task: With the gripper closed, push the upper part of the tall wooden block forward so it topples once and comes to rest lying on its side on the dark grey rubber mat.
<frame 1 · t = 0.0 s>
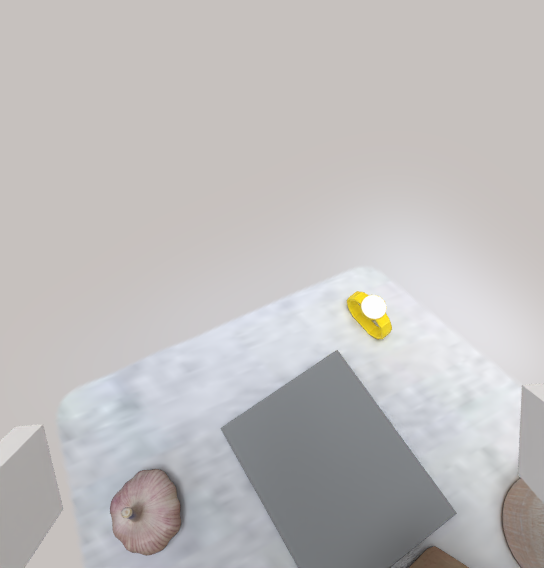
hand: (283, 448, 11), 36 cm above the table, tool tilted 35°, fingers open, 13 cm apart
garlic bulb: (155, 508, 43), on the table
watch: (364, 322, 50), on the table
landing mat: (332, 468, 43), on the table
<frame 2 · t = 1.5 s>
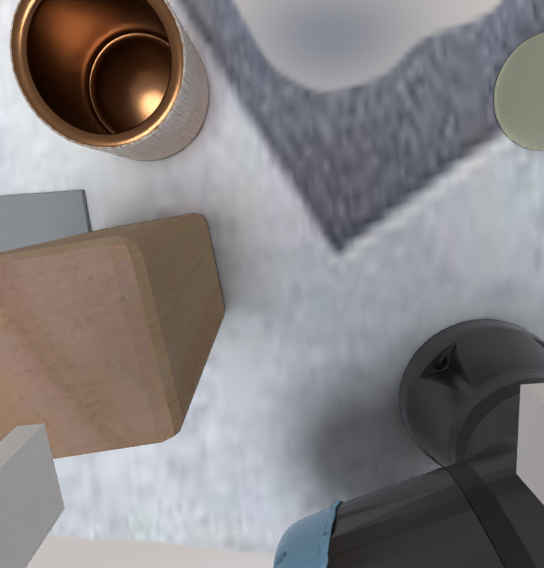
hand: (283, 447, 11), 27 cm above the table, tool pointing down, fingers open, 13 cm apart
planter: (146, 94, 34), on the table
wooden block: (164, 273, 37), on the table
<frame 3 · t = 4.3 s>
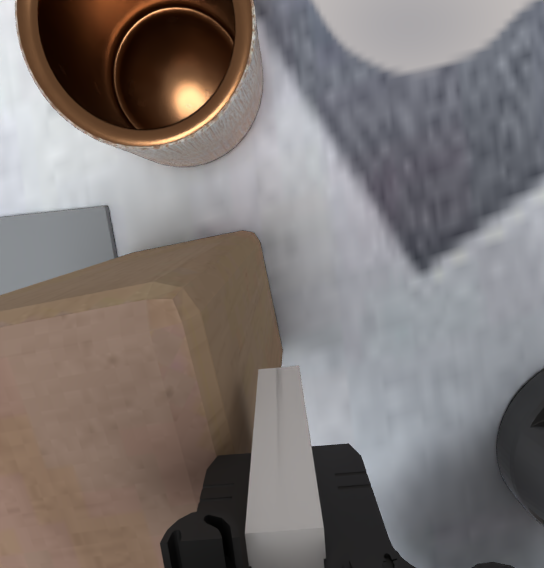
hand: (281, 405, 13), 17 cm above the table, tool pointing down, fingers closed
planter: (183, 85, 27), on the table
wooden block: (207, 305, 30), on the table, touching gripper
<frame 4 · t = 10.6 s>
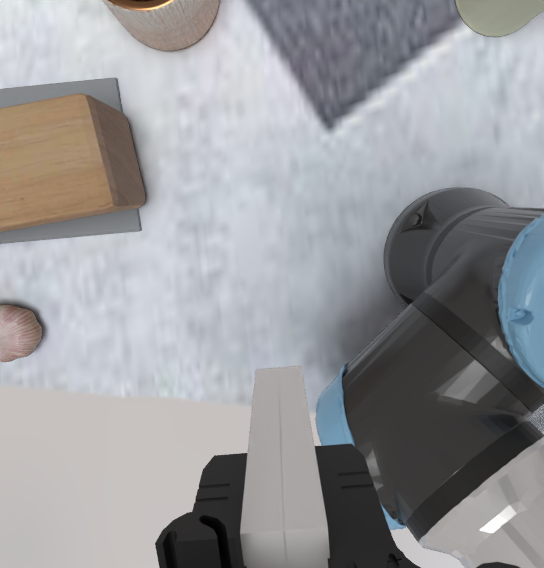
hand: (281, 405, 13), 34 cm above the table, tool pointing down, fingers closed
wooden block: (125, 155, 39), point 6 cm above the table, touching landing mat
garlic bulb: (17, 325, 49), on the table
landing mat: (40, 166, 45), on the table
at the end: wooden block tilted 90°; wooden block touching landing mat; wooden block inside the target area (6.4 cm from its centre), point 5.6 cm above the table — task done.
